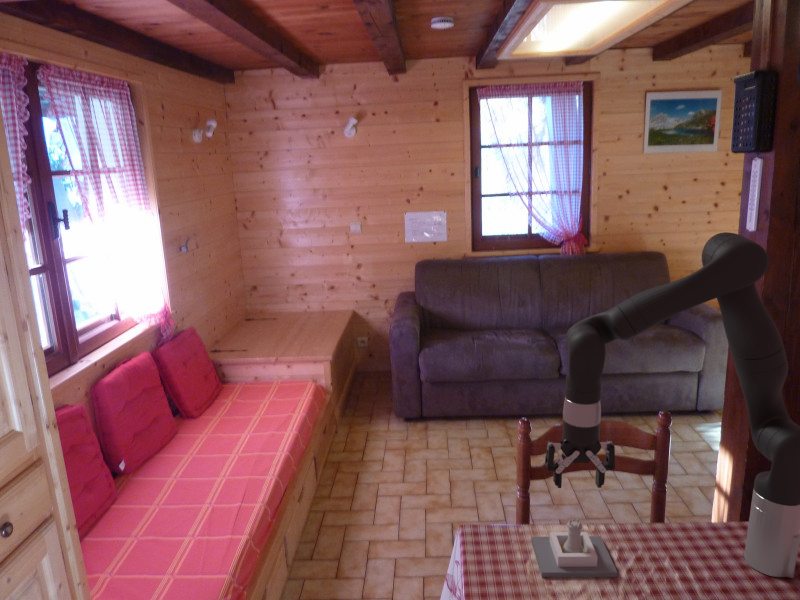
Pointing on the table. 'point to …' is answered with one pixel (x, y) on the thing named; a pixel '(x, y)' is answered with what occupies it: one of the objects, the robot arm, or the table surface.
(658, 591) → the table surface
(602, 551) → the square frame on plate
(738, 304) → the robot arm
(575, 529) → the rook chess piece
